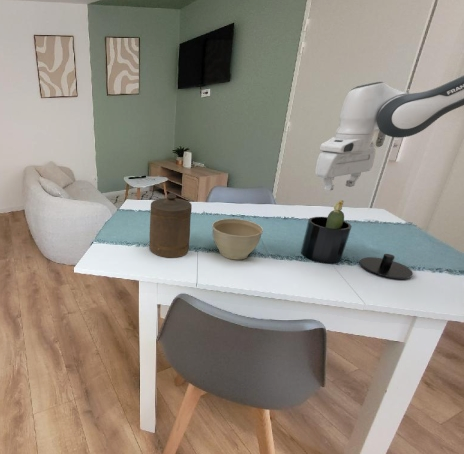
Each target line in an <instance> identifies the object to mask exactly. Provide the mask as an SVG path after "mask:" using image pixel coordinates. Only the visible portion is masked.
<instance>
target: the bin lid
mask: <svg viewBox="0 0 464 454" xmlns="http://www.w3.org/2000/svg"><path fill="white" fill-rule="evenodd" d="M394 259H395V255H393V254H392V253H391V254H390V253H384V254H383V256H382V257H376V256H375V257H374V256H366V257H362V258H360V259H359V261H358V263H359V266H361V268H363V269H364V270H366V271H368V272H371V273H373V274H374V275H378V276H380V277H384V278H390V279H397V280H405V279H410V278H412V276H413V274H414V272H413V271H412V270H411V268H409V267H407V266H406V265H404V264H403V263H400V262H397V261H394Z"/></svg>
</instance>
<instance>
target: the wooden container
mask: <svg viewBox="0 0 464 454" xmlns="http://www.w3.org/2000/svg"><path fill="white" fill-rule="evenodd" d="M192 209H193V208H192V203H191V202H190V201H189V200H185V199H181V198H177V195H176V194H175V193H173V192H170V193H167V194H166V197H164V198H158V199H155V200H153V201H151V202H150V215H149V251H150V252H151V253H153V254H154V255H156V256H159V257H163V258H179V257H182V256H183V257H184V256H186V254H188V253H189V250H190V240H191V217H192Z"/></svg>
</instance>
